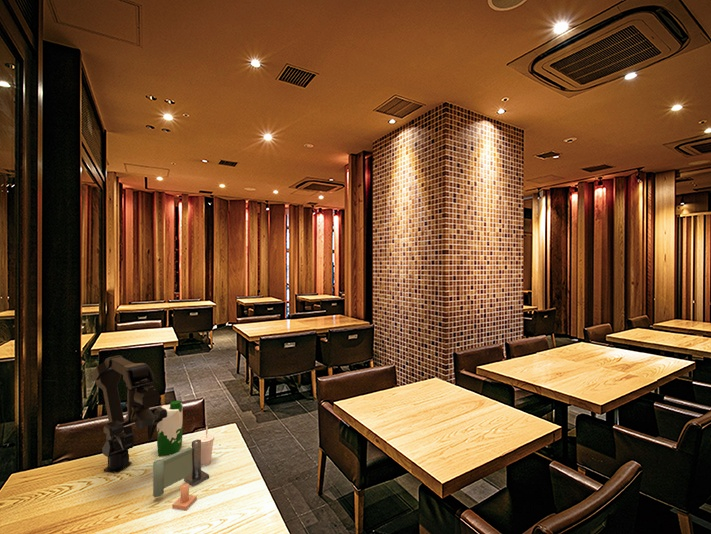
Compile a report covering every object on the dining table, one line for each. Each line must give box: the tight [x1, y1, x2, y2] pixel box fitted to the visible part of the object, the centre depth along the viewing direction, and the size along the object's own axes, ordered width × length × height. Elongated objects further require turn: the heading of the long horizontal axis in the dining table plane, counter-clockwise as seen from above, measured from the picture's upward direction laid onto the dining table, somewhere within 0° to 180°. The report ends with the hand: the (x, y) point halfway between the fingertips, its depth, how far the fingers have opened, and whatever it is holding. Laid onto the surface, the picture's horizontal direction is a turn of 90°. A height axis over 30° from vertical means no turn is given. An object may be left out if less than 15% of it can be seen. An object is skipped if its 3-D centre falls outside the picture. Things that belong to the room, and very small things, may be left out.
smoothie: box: [196, 426, 215, 466], centre depth 133 cm, size 6×6×14 cm
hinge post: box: [183, 439, 210, 488], centre depth 123 cm, size 6×6×14 cm
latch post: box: [171, 482, 198, 511], centre depth 110 cm, size 5×5×6 cm
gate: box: [152, 446, 192, 498], centre depth 116 cm, size 12×3×10 cm, turn 145°
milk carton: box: [156, 400, 184, 457], centre depth 142 cm, size 9×9×20 cm
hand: (137, 444), depth 122 cm, fingers open, 8 cm apart
